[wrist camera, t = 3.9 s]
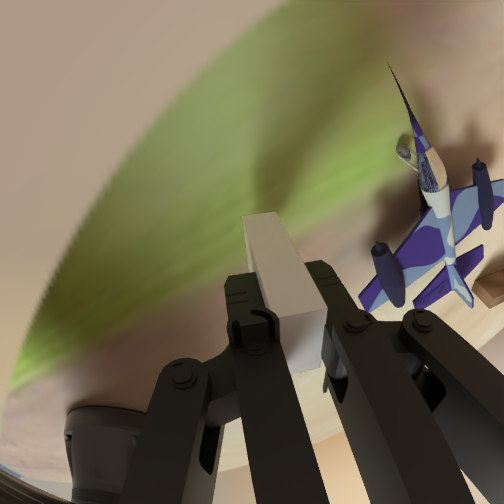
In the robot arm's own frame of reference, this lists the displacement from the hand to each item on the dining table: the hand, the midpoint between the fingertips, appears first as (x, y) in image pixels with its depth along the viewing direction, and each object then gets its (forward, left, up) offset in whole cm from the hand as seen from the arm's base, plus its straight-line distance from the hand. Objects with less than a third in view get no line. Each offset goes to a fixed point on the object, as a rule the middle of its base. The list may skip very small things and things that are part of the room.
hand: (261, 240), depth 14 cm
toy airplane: (+11, 0, -2) cm, 11 cm away
